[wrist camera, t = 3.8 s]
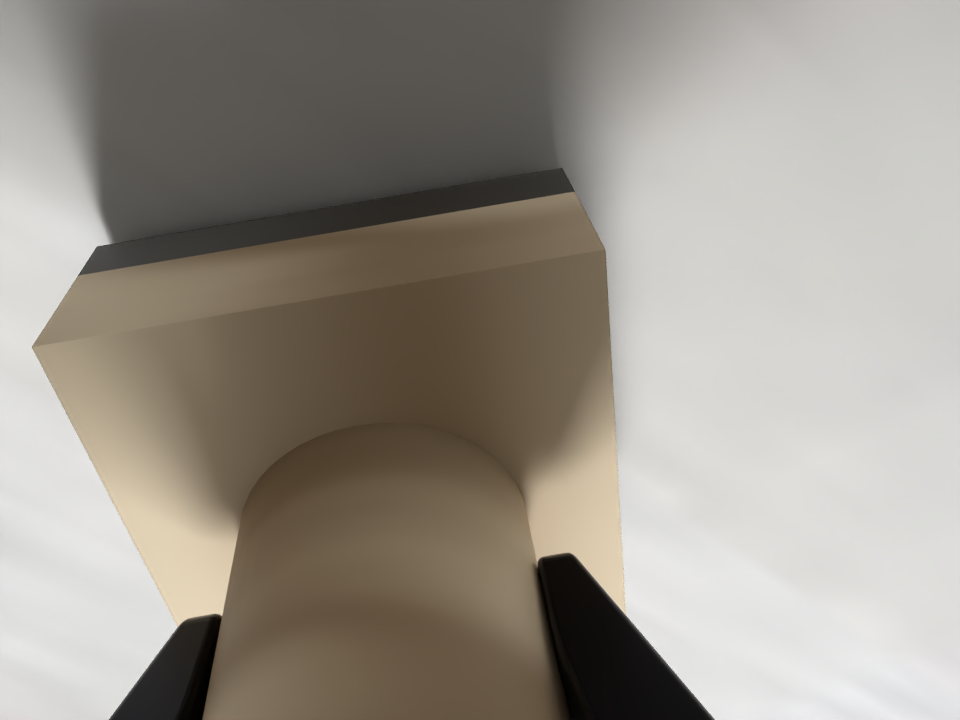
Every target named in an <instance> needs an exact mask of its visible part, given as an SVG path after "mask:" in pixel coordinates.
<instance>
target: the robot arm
mask: <svg viewBox="0 0 960 720" xmlns="http://www.w3.org/2000/svg"><path fill="white" fill-rule="evenodd" d="M538 572H539V577H540V582H541V586H542V591H543V596H544V600H545V605H546V609H547V614H548V619H549V623H550V628H551V633H552V637H553V642H554V647H555V651H556V656H557V661H558V665H559V669H560V673H561V677H562V681H563V685H564V690H565V694H566V699H567V703H568V707H569V712H570V716H571V720H715V719H714V718H713V717H712V716H711V715H710V714H709V712H708V711H707V710H706V709H705V708H704V707H703V705H702V704H701V703H700V702H699V701H698V699H697V698H696V697H695V696H694V695H693V694H692V692H691V691H690V690H689V689H688V688H687V687H686V685H685V684H684V683H683V682H682V681H681V679H680V678H679V677H678V676H677V675H676V674H675V672H674V671H673V670H672V669H671V668H670V667H669V665H668V664H667V663H666V662H665V661H664V659H663V658H662V657H661V656H660V655H659V654H658V652H657V651H656V650H655V649H654V648H653V647H652V645H651V644H650V643H649V642H648V641H647V640H646V638H645V637H644V636H643V635H642V634H641V632H640V631H639V630H638V629H637V628H636V627H635V625H634V624H633V623H632V622H631V621H630V620H629V618H628V617H627V616H626V615H625V614H624V612H623V611H622V610H621V609H620V608H619V607H618V605H617V604H616V603H615V602H614V601H613V600H612V598H611V597H610V596H609V595H608V594H607V592H606V591H605V590H604V589H603V588H602V587H601V585H600V584H599V583H598V582H597V581H596V580H595V578H594V577H593V576H592V575H591V574H590V573H589V571H588V570H587V569H586V568H585V567H584V565H583V564H582V563H581V562H580V561H579V560H578V558H577V557H576V556H574V555H573V554H571V553H561V554H555V555H549V556H544V557H541V558H540V559H539V560H538ZM221 620H222V616H221V615H220V614H210V615H204V616H198V617H193V618H189V619H186V620H185V621H183V622H182V623H181V624H180V625H179V626H178V628H177V629H176V630H175V632H174V633H173V634H172V636H171V637H170V638H169V640H168V641H167V642H166V644H165V645H164V646H163V648H162V649H161V650H160V652H159V653H158V654H157V656H156V657H155V658H154V660H153V661H152V662H151V664H150V665H149V667H148V668H147V669H146V671H145V672H144V673H143V675H142V676H141V677H140V679H139V680H138V681H137V683H136V684H135V685H134V687H133V688H132V689H131V691H130V692H129V693H128V695H127V696H126V697H125V699H124V700H123V701H122V703H121V704H120V705H119V707H118V708H117V710H116V711H115V712H114V714H113V715H112V716H111V718H110V719H109V720H202V719H203V713H204V708H205V703H206V698H207V693H208V687H209V682H210V677H211V672H212V666H213V661H214V656H215V651H216V646H217V640H218V635H219V630H220V625H221Z"/></svg>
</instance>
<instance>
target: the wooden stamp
mask: <svg viewBox="0 0 960 720" xmlns="http://www.w3.org/2000/svg"><path fill="white" fill-rule="evenodd" d="M32 348H33V350H34V352H35V354H36V356H37V358H38V360H39V362H40V364H41V366H42V367H43V369H44V371H45V373H46V375H47V377H48V379H49V381H50V383H51V385H52V387H53V389H54V390H55V392H56V394H57V396H58V398H59V400H60V402H61V404H62V406H63V408H64V410H65V412H66V414H67V415H68V417H69V419H70V421H71V423H72V425H73V427H74V429H75V431H76V433H77V435H78V437H79V438H80V440H81V442H82V444H83V446H84V448H85V450H86V452H87V454H88V456H89V458H90V460H91V461H92V463H93V465H94V467H95V469H96V471H97V473H98V475H99V477H100V479H101V481H102V483H103V484H104V486H105V488H106V490H107V492H108V494H109V496H110V498H111V500H112V502H113V504H114V506H115V507H116V509H117V511H118V513H119V515H120V517H121V519H122V521H123V523H124V525H125V527H126V529H127V530H128V532H129V534H130V536H131V538H132V540H133V542H134V544H135V546H136V548H137V550H138V552H139V554H140V555H141V557H142V559H143V561H144V563H145V565H146V567H147V569H148V571H149V573H150V575H151V577H152V578H153V580H154V582H155V584H156V586H157V588H158V590H159V592H160V594H161V596H162V598H163V600H164V601H165V603H166V605H167V607H168V609H169V611H170V613H171V615H172V617H173V619H174V621H175V623H176V624H177V626H179V625H180V624H181V623H182V622H183V621H185V620H186V619H189V618H193V617H198V616H204V615H210V614H220V615H221V616H222V620H221V625H220V630H219V635H218V640H217V646H216V651H215V656H214V661H213V666H212V672H211V677H210V682H209V687H208V693H207V698H206V703H205V708H204V713H203V719H202V720H571V716H570V712H569V707H568V703H567V699H566V694H565V690H564V685H563V681H562V677H561V673H560V669H559V665H558V661H557V656H556V651H555V647H554V642H553V637H552V633H551V628H550V623H549V619H548V614H547V609H546V605H545V600H544V596H543V591H542V586H541V582H540V577H539V572H538V560H539V559H540V558H541V557H544V556H549V555H555V554H561V553H571V554H573V555H574V556H576V557H577V558H578V560H579V561H580V562H581V563H582V564H583V565H584V567H585V568H586V569H587V570H588V571H589V573H590V574H591V575H592V576H593V577H594V578H595V580H596V581H597V582H598V583H599V584H600V585H601V587H602V588H603V589H604V590H605V591H606V592H607V594H608V595H609V596H610V597H611V598H612V600H613V601H614V602H615V603H616V604H617V605H618V607H619V608H620V609H621V610H622V611H623V612H624V614H625V615H626V610H625V592H624V574H623V557H622V539H621V521H620V503H619V485H618V467H617V449H616V431H615V413H614V396H613V378H612V360H611V342H610V324H609V306H608V288H607V270H606V252H605V248H604V246H603V244H602V242H601V240H600V238H599V237H598V235H597V233H596V231H595V229H594V227H593V225H592V223H591V221H590V220H589V218H588V216H587V214H586V212H585V210H584V208H583V206H582V205H581V203H580V201H579V199H578V197H577V195H576V193H575V191H574V189H573V188H572V186H571V184H570V182H569V180H568V178H567V176H566V174H565V173H564V171H563V169H562V168H560V169H554V170H548V171H542V172H536V173H530V174H524V175H518V176H512V177H506V178H500V179H494V180H488V181H483V182H477V183H471V184H465V185H459V186H453V187H447V188H441V189H435V190H429V191H423V192H417V193H412V194H406V195H400V196H394V197H388V198H382V199H376V200H370V201H364V202H358V203H352V204H346V205H340V206H335V207H329V208H323V209H317V210H311V211H305V212H299V213H293V214H287V215H281V216H275V217H269V218H264V219H258V220H252V221H246V222H240V223H234V224H228V225H222V226H216V227H210V228H204V229H198V230H192V231H187V232H181V233H175V234H169V235H163V236H157V237H151V238H145V239H139V240H133V241H127V242H121V243H116V244H110V245H104V246H98V247H96V249H95V250H94V252H93V254H92V255H91V257H90V258H89V260H88V261H87V263H86V264H85V266H84V267H83V269H82V271H81V272H80V274H79V275H78V277H77V278H76V280H75V281H74V283H73V284H72V286H71V288H70V289H69V291H68V292H67V294H66V295H65V297H64V298H63V300H62V301H61V303H60V304H59V306H58V308H57V309H56V311H55V312H54V314H53V315H52V317H51V318H50V320H49V321H48V323H47V325H46V326H45V328H44V329H43V331H42V332H41V334H40V335H39V337H38V338H37V340H36V342H35V343H34V345H33V346H32Z"/></svg>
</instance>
